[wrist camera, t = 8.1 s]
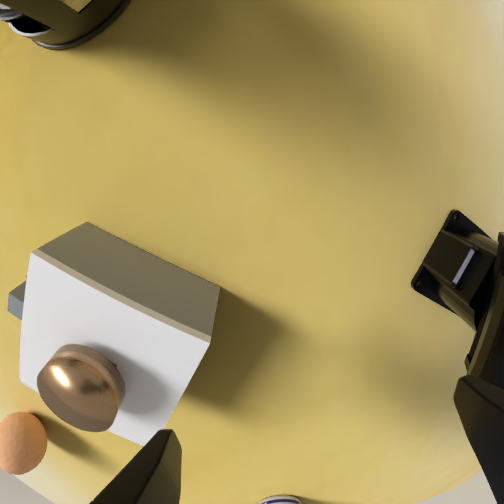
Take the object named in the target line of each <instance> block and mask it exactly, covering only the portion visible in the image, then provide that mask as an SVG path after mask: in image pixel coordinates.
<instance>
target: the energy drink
mask: <svg viewBox="0 0 504 504" xmlns="http://www.w3.org/2000/svg"><path fill="white" fill-rule="evenodd" d="M258 504H301V501H300V500H299V499H297V498H296V497H294V496H290V495H276V496H271V497H267V498H265V499H263V500H261V501H260V502H259V503H258Z"/></svg>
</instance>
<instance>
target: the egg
mask: <svg viewBox="0 0 504 504" xmlns="http://www.w3.org/2000/svg"><path fill="white" fill-rule="evenodd" d="M46 448H47V435H46V432H45V429H44V426H43V424H42V423H41V422H40V420H39V419H38V418H37V417H35V416H34V415H32V414H30V413H26V412H17V413H12V414H10V415H8V416H7V417H6V418H4V419H3V421H2V422H1V423H0V467H1V468H2V469H3V470H4V471H6V472H8V473H10V474H15V475H20V474H24V473H27V472H29V471H31V470H32V469H34V468H35V467H36V466H37V465H38V464H39V463H40V462H41V460H42V459H43V457H44V455H45V452H46Z"/></svg>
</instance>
